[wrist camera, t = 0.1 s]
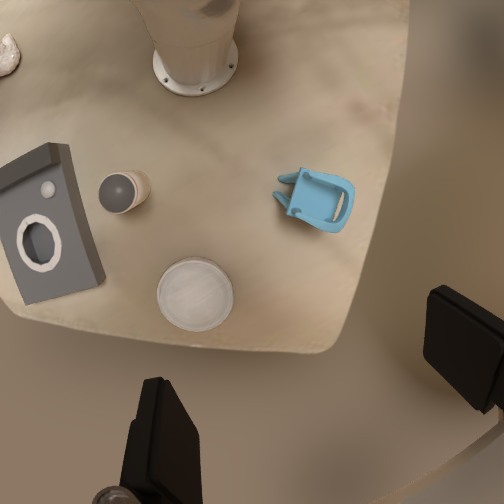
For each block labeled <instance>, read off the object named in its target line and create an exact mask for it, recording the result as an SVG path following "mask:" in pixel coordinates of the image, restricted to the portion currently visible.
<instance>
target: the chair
mask: <svg viewBox="0 0 504 504" xmlns="http://www.w3.org/2000/svg"><path fill="white" fill-rule="evenodd" d="M278 180H279V181H281V182H285V183H295V186H294V189H293V192H292V195H291V198H288V197H287V196H285V195H284V194H283V193H281V192H277V191H275V192H273V196H274V197H276V198H277V199H278V200H279V201H280V202H281V203H282V205H283V206H284V207H285V208H286V209H287V210H286V213H285V214H286V215H289V216H293V217H296V218H299V219H302V220H304V221H306V222H307V223H309V224H311V225H312V226H314V227H316V228H318V229H320V230H322V231H326V232H330V233H338V232H340V231H341V230H342V228H343V227H344V225H345V224H346V222H347V220H348V218H349V216H350V213H351V211H352V207H353V203H354V195H355V188H354V186H353V184H352V183H350V182H349V181H348V180H346V179H344V178H342V177H339V176H336V175H331V174H324V173H318V172H313V171H310V170H308V169H305V168H301V167H300V170H299V172H297V173H293V174H289V175H284V176H282V175H281V176H279V177H278ZM342 192H344V201H343V204H342V208H341V210H340V213H339V215H338V217H337V219H336V220H335V221H333V218H334V215H335V212H336V209H337V206H338V203H339V200H340V197H341V194H342Z"/></svg>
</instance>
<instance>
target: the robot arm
mask: <svg viewBox="0 0 504 504" xmlns="http://www.w3.org/2000/svg"><path fill="white" fill-rule="evenodd" d="M130 1H131V2H132V3H133V4H134V5H135V6H136V7H137V9H138V11H139V12H140V14H141V16H142V18H143V20H144V22H145V25H146V27H147V29H148V32H149V34H150V36H151V39H152V41H153V43H154V46H155V48H156V49H155V51H154V54H153V60H152V62H153V70H154V73H155V75H156V77H157V79H158V80H159V82H160V83H161V84H162V85H163V86H164V87H165V88H166V89H168V90H169V91H171V92H173V93H176V94H179V95H182V96H202V95H206V94H209V93H212V92H214V91H216V90H218V89H220V88H221V87H222V86H223V85H225V84H226V83H227V82H228V81H229V80H230V78H231V77H232V76H233V74H234V72H235V70H236V67H237V63H238V50H237V46H236V44H235V42H234V40H233V39H232V38H233V33H234V29H235V25H236V21H237V16H238V12H239V5H240V1H239V0H130ZM230 66H231V67H232V68H229V67H230ZM166 81H168V83H165V82H166ZM201 89H204V91H203V92H202V91H201ZM423 355H424V358H425V360H426V361H427V362H428V363H429V364H430V365H431V366H432V367H433V368H434V369H435V370H436V371H437V372H438V373H439V374H440V375H441V376H442V377H444V379H445V380H446V381H447V382H448V383H450V385H451V386H453V388H454V389H455V390H456V391H458V393H459V394H460V395H461V396H462V397H463V398H464V399H465V400H466V401H467V402H468V403H469V404H470V405H471V406H472V407H473V408H474V409H475V410H480V411H481V412H482V413H483V414H486V413H487V412H488V411H489V410H491V409H492V408H493V407H494V405H495V404H496V405H497V406H498V424H497V425H495V426H494V427H493V428H492V429H490V430H489V431H488V432H487V433H485V434H484V435H483V436H482V437H480V438H479V439H478V440H476V441H475V442H474V443H472V444H471V445H470V446H468V447H467V448H466V449H464V450H463V451H461V452H460V453H459V454H457V455H456V456H454V457H453V458H451V459H450V460H448V461H447V462H445V463H444V464H442V465H441V466H439V467H437V468H436V469H434V470H433V471H431V472H429V473H428V474H426V475H424V476H422V477H421V478H419V479H417V480H416V481H414V482H412V483H410V484H408V485H406V486H405V487H402V488H400V489H399V490H397V491H395V492H393V493H391V494H388V495H386V496H384V497H382V498H380V499H378V500H375V501H373V502H371V503H369V504H504V321H503V320H502V319H500V318H498V317H497V316H495V315H493V314H492V313H491V312H489V311H487V310H486V309H484V308H482V307H481V306H479V305H478V304H476V303H474V302H473V301H471V300H469V299H468V298H466V297H465V296H463V295H461V294H460V293H458V292H456V291H455V290H453V289H451V288H450V287H448V286H446V285H441V286H439V287H437V288H435V289H433V290H431V291H430V293H429V296H428V298H427V311H426V327H425V337H424V347H423ZM199 443H200V441H199V434H198V431H197V429H196V427H195V425H194V424H193V422H192V420H191V419H190V417H189V415H188V413H187V412H186V410H185V408H184V407H183V405H182V403H181V401H180V399H179V398H178V396H177V394H176V392H175V390H174V388H173V387H172V385H171V383H170V381H169V380H164V379H163V378H162V377H156V378H150V379H146V380H144V382H143V387H142V391H141V396H140V401H139V405H138V410H137V415H136V419H134V420H133V421H132V422H131V425H130V429H129V434H128V439H127V444H126V450H125V455H124V460H123V466H122V472H121V478H120V484H119V486H109V487H106V488H104V489H102V490H101V491H100V492H98V493H97V495H96V496H95V497H94V499H93V502H92V504H203V500H202V485H201V466H200V444H199Z"/></svg>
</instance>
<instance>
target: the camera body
mask: <svg viewBox="0 0 504 504" xmlns="http://www.w3.org/2000/svg"><path fill="white" fill-rule="evenodd" d="M0 238H1V241H2V244H3V247H4V251H5V254H6V257H7V259H8V262H9V265H10V268H11V271H12V273H13V276H14V279H15V281H16V284H17V286H18V289H19V291H20V293H21V296H22V298H23V300H24V303H25V305H30V304H33V303H37V302H41V301H44V300H48V299H52V298H56V297H59V296H63V295H67V294H71V293H74V292H78V291H82V290H86V289H90V288H93V287H97V286H99V285H100V284H101V282H102V281H103V280H104V279H105V277H106V275H105V272H104V270H103V267H102V264H101V261H100V258H99V256H98V253H97V250H96V247H95V244H94V241H93V238H92V234H91V231H90V228H89V225H88V221H87V218H86V214H85V211H84V207H83V204H82V200H81V196H80V192H79V189H78V185H77V180H76V176H75V172H74V168H73V163H72V158H71V154H70V149H69V145H67V144H58V143H49V142H48V143H45V144H43V145H41V146H39V147H38V148H36V149H34V150H32V151H30V152H28V153H26V154H24V155H22V156H21V157H19V158H17V159H15V160H13V161H12V162H10V163H8V164H6V165H5V166H3V167H1V168H0Z"/></svg>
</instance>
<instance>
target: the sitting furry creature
mask: <svg viewBox="0 0 504 504" xmlns="http://www.w3.org/2000/svg"><path fill="white" fill-rule="evenodd" d="M19 59H20V53H19V49H18V48H17V46H16V42H15V40H13V37H12V36H11V34H9V33H8V34H6V36H5V37H4V38H3V39H2V43H0V76H4V75H7V74H10V73H11V72H12V71H13V70H14V69H15V68H16V66H17V65H18V63H19Z"/></svg>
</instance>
